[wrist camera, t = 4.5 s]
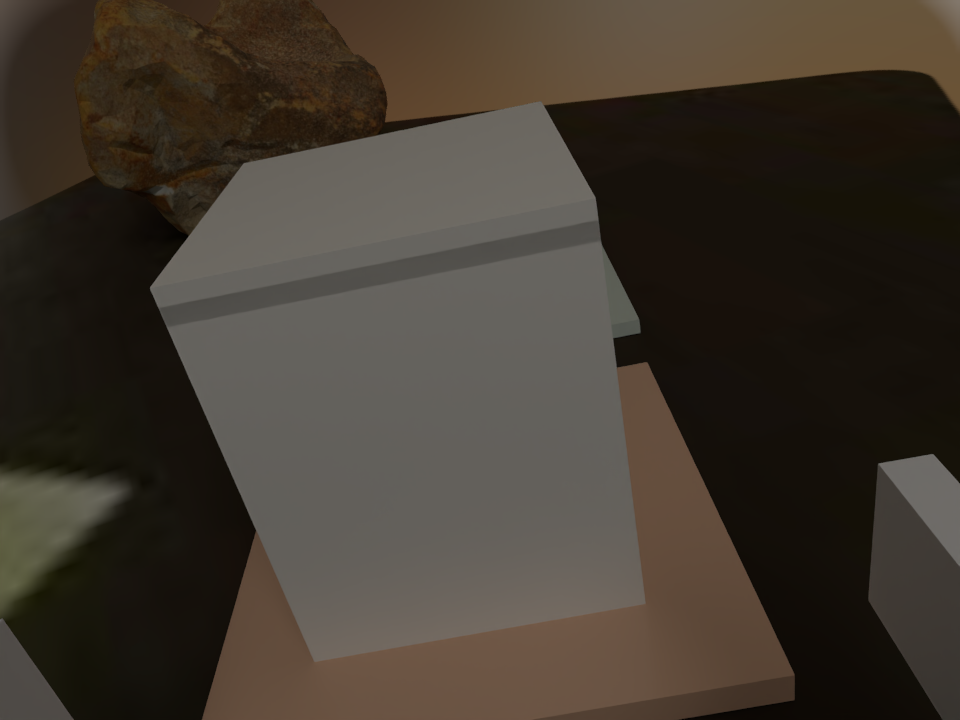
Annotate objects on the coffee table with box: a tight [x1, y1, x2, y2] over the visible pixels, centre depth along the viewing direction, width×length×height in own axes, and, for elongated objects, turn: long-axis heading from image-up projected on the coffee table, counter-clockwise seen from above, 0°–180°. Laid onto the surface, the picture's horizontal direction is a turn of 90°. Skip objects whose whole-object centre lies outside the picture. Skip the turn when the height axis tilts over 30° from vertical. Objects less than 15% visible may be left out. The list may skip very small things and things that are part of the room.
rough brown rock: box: [74, 0, 387, 236], centre depth 53 cm, size 23×17×15 cm
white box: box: [150, 101, 646, 662], centre depth 20 cm, size 8×8×10 cm
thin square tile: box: [202, 362, 795, 720], centre depth 22 cm, size 13×13×1 cm
